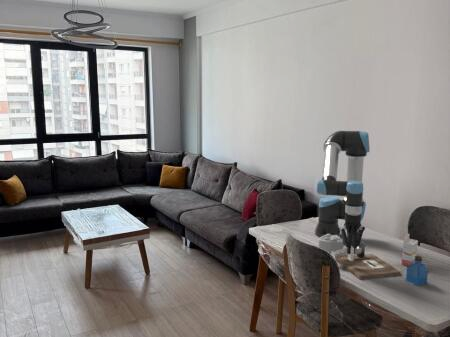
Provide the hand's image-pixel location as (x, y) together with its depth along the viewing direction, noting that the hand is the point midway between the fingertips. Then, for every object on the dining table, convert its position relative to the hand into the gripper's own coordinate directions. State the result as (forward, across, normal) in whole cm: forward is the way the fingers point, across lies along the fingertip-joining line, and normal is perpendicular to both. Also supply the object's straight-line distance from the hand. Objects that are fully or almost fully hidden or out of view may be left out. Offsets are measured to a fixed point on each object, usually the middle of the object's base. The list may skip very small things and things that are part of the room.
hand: (350, 259), depth 202 cm
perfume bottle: (+5, +22, -20) cm, 30 cm away
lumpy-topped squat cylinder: (+5, +2, +24) cm, 24 cm away
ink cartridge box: (+5, +33, -1) cm, 33 cm away
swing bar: (+3, +4, +8) cm, 9 cm away
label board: (+5, +9, 0) cm, 10 cm away
